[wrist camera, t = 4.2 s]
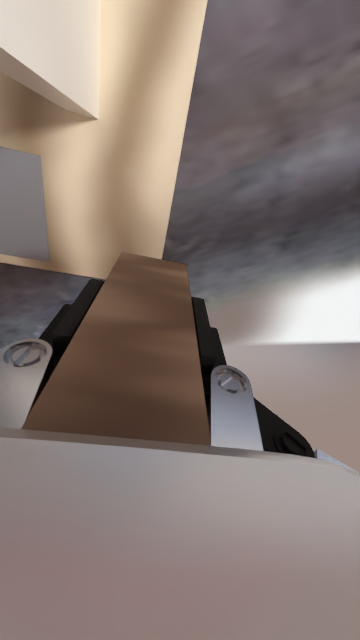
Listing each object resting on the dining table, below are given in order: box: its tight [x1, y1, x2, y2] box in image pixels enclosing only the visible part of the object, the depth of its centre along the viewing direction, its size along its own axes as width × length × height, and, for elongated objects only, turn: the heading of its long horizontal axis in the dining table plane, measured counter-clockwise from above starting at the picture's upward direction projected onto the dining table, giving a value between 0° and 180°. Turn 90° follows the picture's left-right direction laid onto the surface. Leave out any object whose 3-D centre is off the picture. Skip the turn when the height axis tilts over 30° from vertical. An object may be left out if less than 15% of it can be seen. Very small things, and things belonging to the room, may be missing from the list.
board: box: [0, 0, 207, 280], centre depth 17 cm, size 20×20×1 cm
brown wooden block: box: [21, 252, 211, 446], centre depth 8 cm, size 4×4×12 cm
